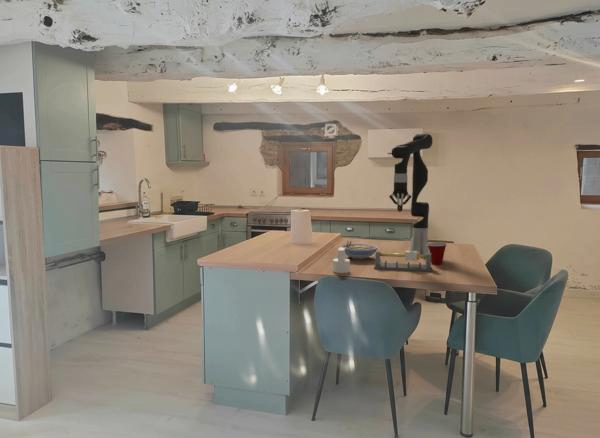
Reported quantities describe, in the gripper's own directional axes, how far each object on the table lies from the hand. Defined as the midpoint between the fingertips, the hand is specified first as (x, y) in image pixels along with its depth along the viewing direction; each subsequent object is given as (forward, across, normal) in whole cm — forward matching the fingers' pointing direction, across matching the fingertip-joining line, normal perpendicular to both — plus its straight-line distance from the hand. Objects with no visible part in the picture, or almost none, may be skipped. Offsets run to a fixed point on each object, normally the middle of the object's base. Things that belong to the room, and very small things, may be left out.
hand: (399, 211), depth 257 cm
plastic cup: (+30, +21, -1) cm, 37 cm away
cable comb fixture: (+29, +2, -16) cm, 33 cm away
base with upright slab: (+29, -30, -31) cm, 52 cm away
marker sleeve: (+24, +6, -16) cm, 30 cm away
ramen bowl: (+30, -24, +5) cm, 39 cm away
